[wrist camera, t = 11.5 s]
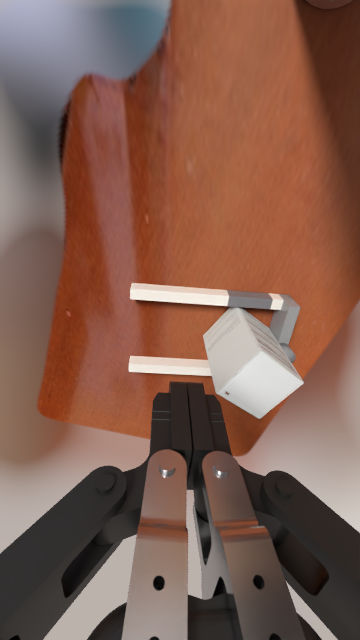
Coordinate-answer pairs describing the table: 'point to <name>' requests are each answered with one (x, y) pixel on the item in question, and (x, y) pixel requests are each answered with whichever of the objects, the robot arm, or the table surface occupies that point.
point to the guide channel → (281, 304)
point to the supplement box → (249, 363)
